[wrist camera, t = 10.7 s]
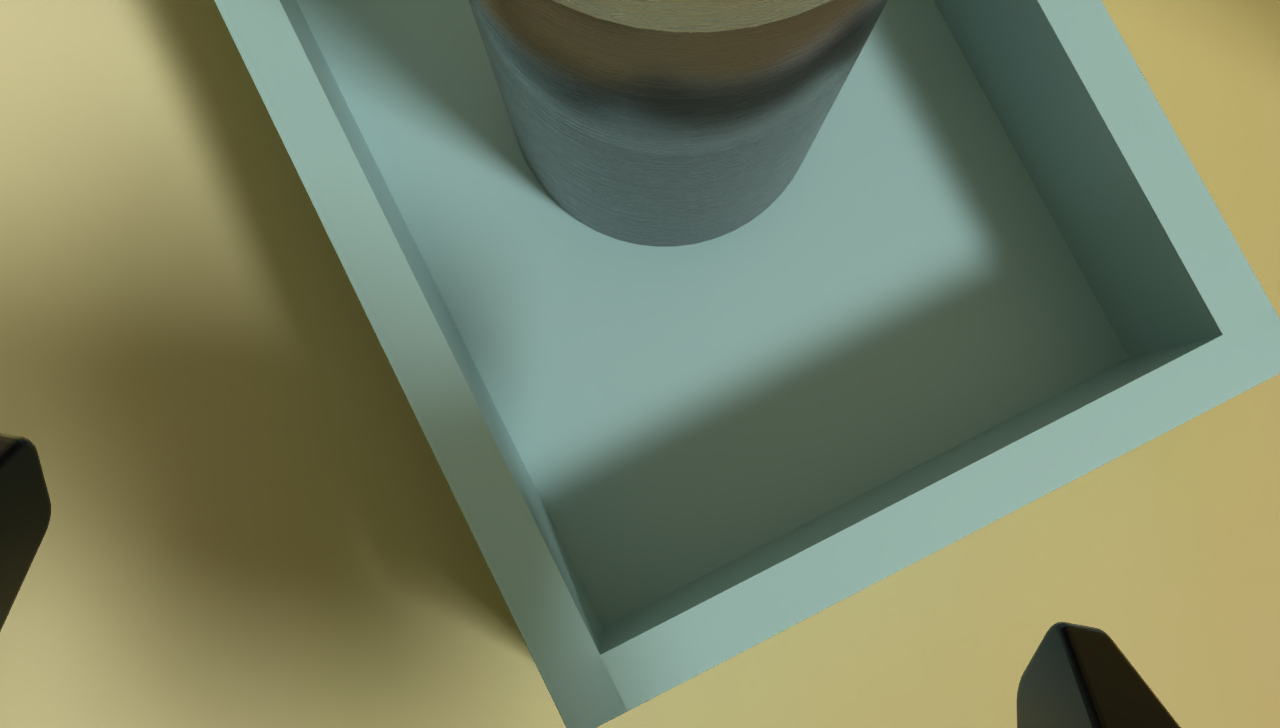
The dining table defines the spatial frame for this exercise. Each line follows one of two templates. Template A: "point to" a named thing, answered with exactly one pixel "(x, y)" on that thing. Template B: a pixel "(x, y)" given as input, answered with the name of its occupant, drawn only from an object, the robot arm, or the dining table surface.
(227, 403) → the dining table surface
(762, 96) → the cylinder
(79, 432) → the dining table surface
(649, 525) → the tray
